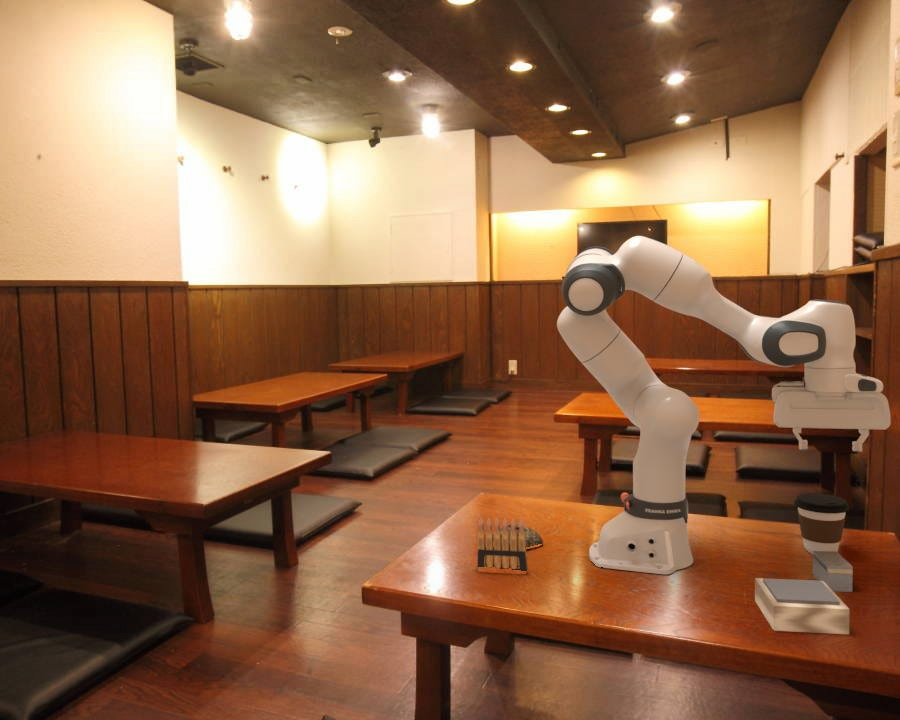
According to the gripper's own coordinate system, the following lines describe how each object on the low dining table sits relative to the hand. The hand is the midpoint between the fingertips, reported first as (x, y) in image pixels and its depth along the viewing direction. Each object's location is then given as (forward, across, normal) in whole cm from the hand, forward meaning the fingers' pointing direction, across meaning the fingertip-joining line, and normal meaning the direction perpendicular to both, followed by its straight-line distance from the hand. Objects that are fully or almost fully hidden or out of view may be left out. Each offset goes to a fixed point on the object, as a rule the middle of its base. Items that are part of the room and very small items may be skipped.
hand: (829, 450), depth 135 cm
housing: (+27, 0, -2) cm, 27 cm away
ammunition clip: (+26, -64, -17) cm, 71 cm away
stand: (+26, -7, -20) cm, 34 cm away
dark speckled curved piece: (+26, -67, +1) cm, 72 cm away
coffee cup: (+27, 0, +17) cm, 32 cm away
